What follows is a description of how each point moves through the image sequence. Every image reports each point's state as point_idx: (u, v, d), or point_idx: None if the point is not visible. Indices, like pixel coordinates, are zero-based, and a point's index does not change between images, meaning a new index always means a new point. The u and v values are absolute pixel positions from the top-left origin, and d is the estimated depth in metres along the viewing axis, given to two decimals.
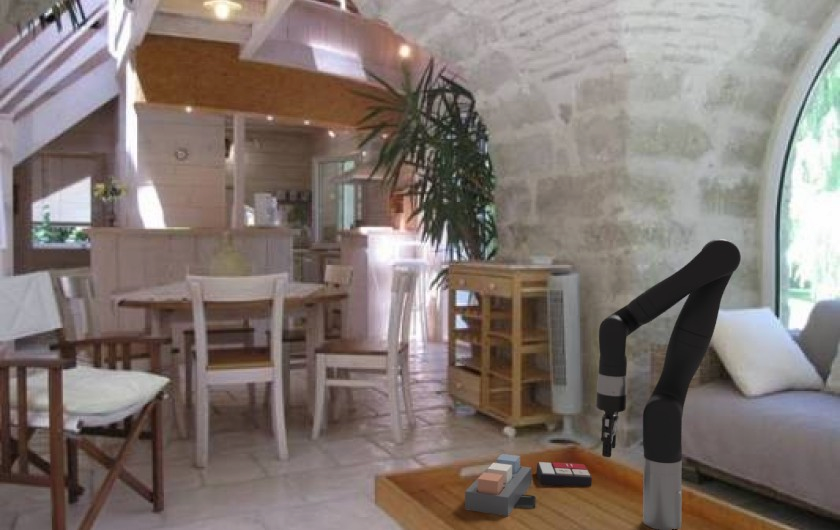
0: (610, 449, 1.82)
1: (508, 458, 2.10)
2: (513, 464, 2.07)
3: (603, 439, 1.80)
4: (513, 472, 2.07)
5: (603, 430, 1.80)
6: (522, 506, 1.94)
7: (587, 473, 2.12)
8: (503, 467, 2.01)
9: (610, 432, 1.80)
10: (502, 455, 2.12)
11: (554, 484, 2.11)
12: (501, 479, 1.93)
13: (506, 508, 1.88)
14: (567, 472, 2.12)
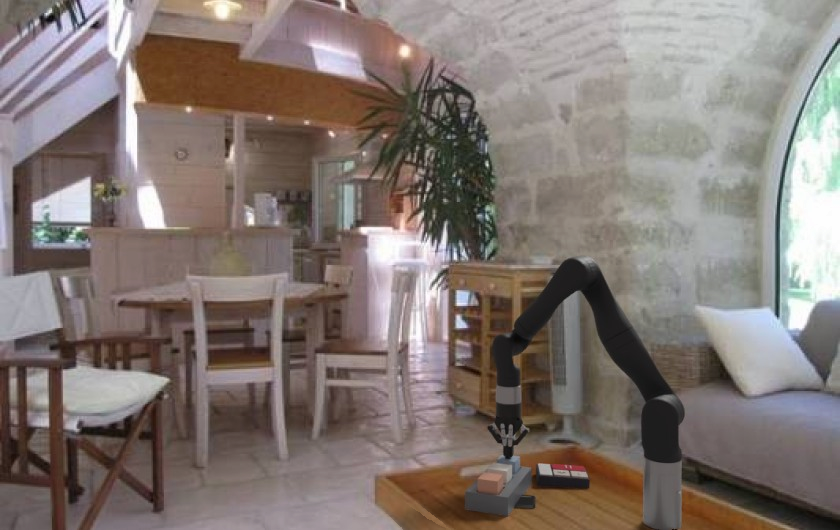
0: None
1: None
2: (513, 464, 2.07)
3: (518, 443, 2.08)
4: (513, 472, 2.07)
5: (522, 438, 2.07)
6: (522, 506, 1.94)
7: (585, 475, 2.10)
8: (503, 467, 2.01)
9: None
10: (502, 455, 2.12)
11: (551, 485, 2.10)
12: (501, 479, 1.93)
13: (506, 508, 1.88)
14: (565, 474, 2.11)
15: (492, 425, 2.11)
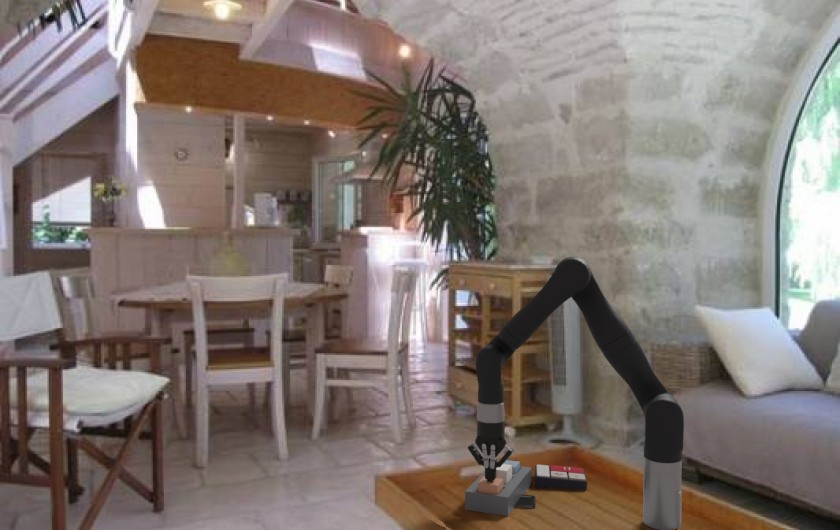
0: None
1: (508, 464, 2.10)
2: (513, 470, 2.07)
3: (500, 465, 1.92)
4: None
5: None
6: (522, 506, 1.94)
7: (583, 477, 2.09)
8: (503, 467, 2.01)
9: None
10: None
11: (548, 487, 2.08)
12: (501, 483, 1.93)
13: (506, 508, 1.88)
14: (562, 475, 2.09)
15: (473, 445, 1.95)
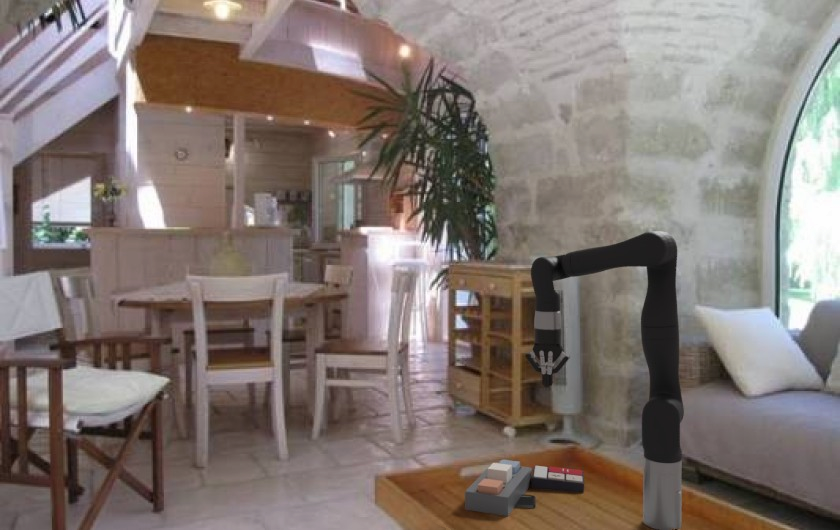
0: None
1: (508, 464, 2.10)
2: (513, 470, 2.07)
3: (557, 371, 2.01)
4: None
5: (563, 365, 2.00)
6: (522, 506, 1.94)
7: (580, 479, 2.07)
8: (503, 467, 2.01)
9: None
10: (502, 461, 2.12)
11: (545, 488, 2.07)
12: (501, 485, 1.93)
13: (506, 508, 1.88)
14: (559, 477, 2.08)
15: (530, 353, 2.04)
